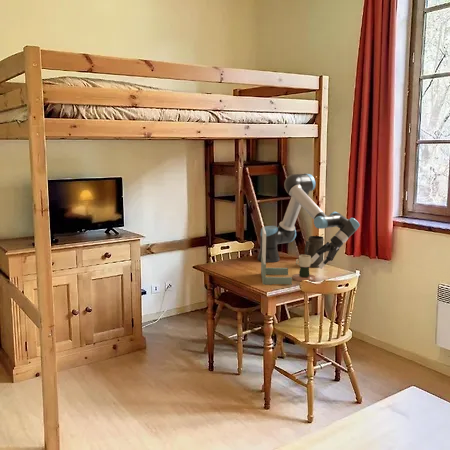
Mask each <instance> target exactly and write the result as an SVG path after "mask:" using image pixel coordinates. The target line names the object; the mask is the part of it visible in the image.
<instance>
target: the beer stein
mask: <svg viewBox="0 0 450 450" xmlns="http://www.w3.org/2000/svg"><path fill="white" fill-rule="evenodd" d="M324 241H325V239H324V236H320V235H310V236H308V240H306V241H305V244H304V250H303V251H304V255H310V256H311V258H312V257H313V256H314V255H315V254H316V250H318V249H319V248H320V247H322V246H323V245H324ZM324 254H325V253H323V254H321V255H320V256H319V257H318V258H317V260H316V261H315V262H314V263H313V264H311V265H310V267H309V268H315V269H316V268H319V269H320V267H319V266H318V265H319V264H320V263H321V262H322V261H323V260H324V259H325V258H324Z"/></svg>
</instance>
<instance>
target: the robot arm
mask: <svg viewBox="0 0 450 450" xmlns="http://www.w3.org/2000/svg"><path fill="white" fill-rule="evenodd" d="M315 179H316V178H314V176H313V175H312V174H311V173H293V174H290V175H288V176H287V177H286V179H285V180H284V185H283V186H284V189H285V191H286V193H287V194H288V195H289V196H290V200H289V203H288V205H287V207H286V210H285V213H284V216H283V219H282V220H281V221H280V222H279V223H278V226H277V225H266V226H263V227H264V228H265V231H266V263H276V262H279V261H280V255H279V251H278V245H280V244H289V243H292V242H294V240H296V237H297V230H296V226H295V224H296V221H297V219H298V217H299V214H300V211H301V209H302V208H303V210H304V211H305V212H306V213H307V214H308V216H310V217H311V218H312V219H313V225H314V227H315V228H316V229H321V230H322V229H323V230H324V229H328V228H335V227H336V228H337V229H338V228H339V229H338V231H337V232H336V233H335V234H334V235H333V236H332V237H331V238H330V242H329V241H327V242H326V243H325V244H323V246H322V247H320V248H319V249H318V250H316V254H315V255H314V256H313V257H312V258H313V263H314V262H315V261H316V260H317V258H318V257H319V256H320V255H321V254H323V253H324V254H325V253H326V252H328V253H327V256H325V258H323V261H322V262H321V263H320V264H319V265H318V266H319V269H323V268H324V267H325V266H326V265H327V264H328V263H329V262H330V261H331V262H332V261H333V260H334V259H335V257H336V255H337V253H338V252H339V251H340V248H341V247H343V245H344V244H345V243H346V242H347V241H348V239H350V237H351V236H352V235H353V234H355V232H356V231H358V229H359V228H360V226H361V224H360V222H359V221H358V220H357V219H356V218H354V217H350V218H346V216H344V215H342V214H341V213H340V212H337V211H333V212H331V213H330V214H326V213H325V212H324V211H323V210H322V209H321V208H320V207H319V205H317V203H316V202H315V201H314V200H313V199H312V198H311V197H310V196H309V194H310V192H312V191H314V190H315V189H316V180H315ZM259 245H260V247H259V248H260V250H259V252H258V255H257V261H259V262H261V255H262V228H260V243H259ZM311 262H312V260H311Z"/></svg>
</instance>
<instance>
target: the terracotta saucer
mask: <svg viewBox="0 0 450 450" xmlns="http://www.w3.org/2000/svg"><path fill="white" fill-rule="evenodd" d="M309 275H310V276H309V277H302V276H299V273H296V274H293V275H292V280H294V281H297V282H302V280H309V281H310V282H315V281H316V279H317V277H316V275H313V274H311V273H309Z"/></svg>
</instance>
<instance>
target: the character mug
mask: <svg viewBox="0 0 450 450" xmlns="http://www.w3.org/2000/svg"><path fill="white" fill-rule="evenodd" d="M311 260H312V262H311ZM295 264H296V265H298V266H299V267H300V268H299V273H298V274H299V276H302V277H309V276H310V275H311V274H310V268H311V267H310V265H311V264H313V258H311V256H310V255H305V254H299V255H298V258H296V260H295ZM309 274H310V275H309Z"/></svg>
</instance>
